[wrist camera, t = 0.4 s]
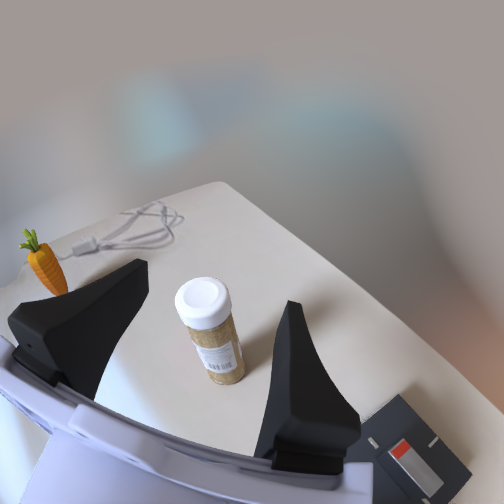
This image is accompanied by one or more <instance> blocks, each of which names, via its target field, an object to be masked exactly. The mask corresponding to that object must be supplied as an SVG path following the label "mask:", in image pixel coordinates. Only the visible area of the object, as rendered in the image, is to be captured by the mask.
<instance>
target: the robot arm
mask: <svg viewBox="0 0 504 504" xmlns="http://www.w3.org/2000/svg"><path fill="white" fill-rule="evenodd" d="M148 293H149V284H148V262H147V261H144V260H141V259H138V258H137V259H135V260H133V261H132V262H130V263H128V264H126V265H124V266H123V267H121V268H119V269H117V270H116V271H114V272H112V273H110V274H108V275H107V276H105V277H103V278H101V279H99V280H97V281H95V282H93V283H91V284H89V285H87V286H84V287H82V288H79V289H77V290H75V291H72V292H69V293H66V294H63V295H59V296H56V297H52V298H48V299H44V300H39V301H32V302H24V303H21V304H20V305H19V306H18V307H17V308H16V309H15V310H14V311H13V313H12V314H11V315H10V316H9V317H8V324H9V327H10V329H11V331H12V333H13V335H14V336H15V338H16V340H17V342H18V343H19V345H18V346H17V348H16V347H15V346H14V345H13V344H12V343H11V342H9V341H8V340H7V339H6V338H4V337H3V336H2V335H0V393H1V394H2V395H3V396H4V397H5V398H6V399H7V400H8V401H10V402H11V403H12V404H13V405H14V406H15V407H17V408H18V409H19V410H20V411H21V412H22V413H24V414H25V415H26V416H27V417H29V418H30V419H31V420H32V421H34V422H35V423H36V424H38V425H39V426H40V427H41V428H43V429H44V430H46V431H47V432H48V433H50V434H51V437H50V439H49V441H48V443H47V445H46V447H45V449H44V451H43V453H42V455H41V457H40V459H39V460H38V463H37V465H36V467H35V469H34V471H33V473H32V475H31V477H30V479H29V481H28V483H27V486H26V488H25V490H24V492H23V495H22V497H21V499H20V501H19V504H372V499H373V463H372V462H348V463H344V464H343V459H344V458H345V457H346V455H347V448H349V447H350V446H351V445H353V444H354V443H356V442H357V441H358V440H359V439H360V438H361V422H360V417H359V414H358V413H357V412H356V411H355V410H354V409H353V408H352V406H351V405H350V404H349V403H348V402H347V401H346V400H345V398H344V397H343V396H342V395H341V393H340V392H339V390H338V389H337V387H336V386H335V384H334V383H333V382H332V380H331V379H330V377H329V375H328V373H327V372H326V370H325V368H324V366H323V364H322V362H321V360H320V358H319V356H318V354H317V352H316V349H315V347H314V344H313V342H312V339H311V336H310V333H309V331H308V328H307V324H306V321H305V317H304V313H303V309H302V305H301V304H300V303H297V302H293V301H289V300H288V302H287V305H286V307H285V310H284V313H283V315H282V318H281V321H280V323H279V326H278V329H277V333H276V338H275V343H274V350H273V361H272V372H271V382H270V390H269V395H268V400H267V405H266V409H265V414H264V418H263V422H262V426H261V430H260V434H259V438H258V442H257V445H256V449H255V453H254V456H253V457H251V456H246V455H241V454H237V453H232V452H228V451H224V450H220V449H216V448H212V447H209V446H205V445H202V444H198V443H195V442H192V441H189V440H185V439H182V438H179V437H176V436H173V435H171V434H168V433H165V432H162V431H159V430H157V429H154V428H152V427H149V426H147V425H144V424H142V423H139V422H137V421H134V420H132V419H130V418H127V417H125V416H123V415H121V414H119V413H116V412H114V411H112V410H110V409H108V408H106V407H104V406H102V405H100V404H98V403H96V402H94V398H95V395H96V392H97V389H98V386H99V383H100V381H101V378H102V375H103V373H104V370H105V368H106V366H107V363H108V361H109V359H110V357H111V355H112V353H113V351H114V349H115V347H116V345H117V343H118V341H119V339H120V338H121V336H122V335H123V333H124V332H125V330H126V329H127V327H128V326H129V324H130V323H131V321H132V320H133V319H134V317H135V316H136V314H137V313H138V311H139V310H140V308H141V306H142V305H143V303H144V301H145V299H146V297H147V295H148Z"/></svg>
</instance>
